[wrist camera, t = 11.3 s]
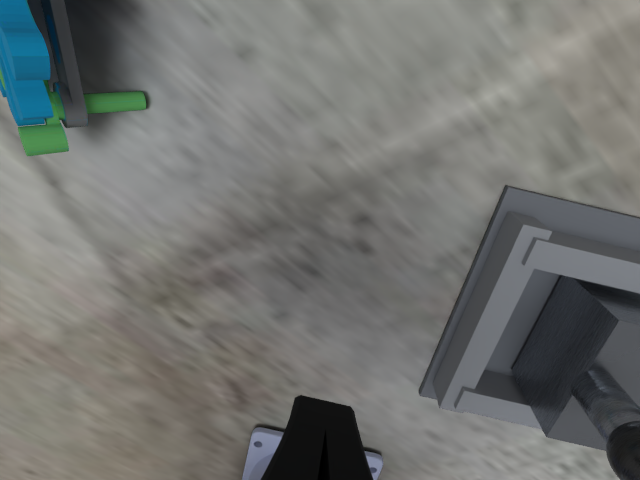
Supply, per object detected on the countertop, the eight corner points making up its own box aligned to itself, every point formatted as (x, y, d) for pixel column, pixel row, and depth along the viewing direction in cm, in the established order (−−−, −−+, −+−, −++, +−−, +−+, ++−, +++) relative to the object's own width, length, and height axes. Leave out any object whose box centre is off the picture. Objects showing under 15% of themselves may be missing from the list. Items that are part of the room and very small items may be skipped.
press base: (695, 455, 22) (750, 515, 19) (418, 391, 22) (429, 442, 19) (854, 269, 18) (960, 310, 15) (505, 185, 17) (538, 209, 14)
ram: (574, 386, 20) (708, 572, 13) (499, 369, 20) (589, 545, 13) (636, 287, 18) (845, 442, 10) (552, 267, 18) (699, 408, 10)
